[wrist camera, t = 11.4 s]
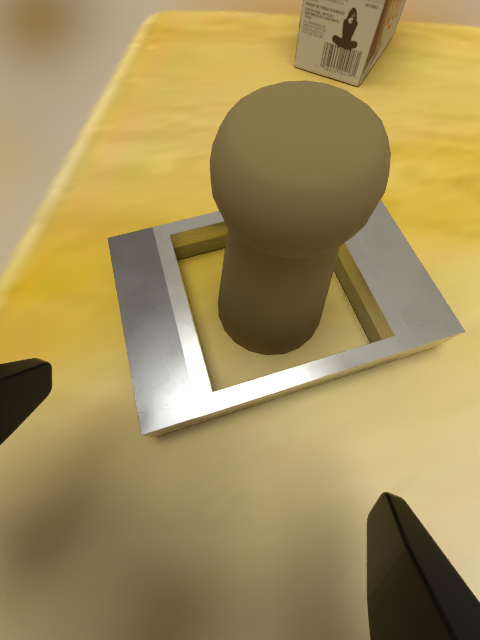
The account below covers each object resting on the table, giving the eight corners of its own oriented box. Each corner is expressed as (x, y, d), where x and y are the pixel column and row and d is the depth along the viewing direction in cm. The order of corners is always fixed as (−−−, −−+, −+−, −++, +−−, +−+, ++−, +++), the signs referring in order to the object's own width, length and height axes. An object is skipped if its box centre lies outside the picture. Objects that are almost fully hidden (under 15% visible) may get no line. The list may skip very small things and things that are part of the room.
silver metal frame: (156, 436, 15) (141, 434, 13) (123, 262, 19) (107, 238, 17) (435, 346, 17) (465, 331, 14) (351, 204, 21) (365, 175, 18)
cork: (303, 253, 19) (373, 34, 9) (336, 342, 17) (480, 181, 7) (209, 272, 19) (170, 61, 8) (229, 365, 16) (211, 232, 6)
